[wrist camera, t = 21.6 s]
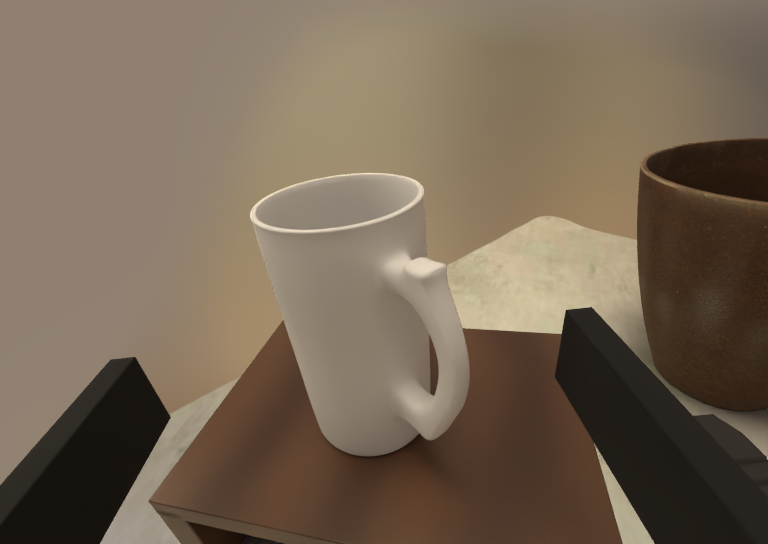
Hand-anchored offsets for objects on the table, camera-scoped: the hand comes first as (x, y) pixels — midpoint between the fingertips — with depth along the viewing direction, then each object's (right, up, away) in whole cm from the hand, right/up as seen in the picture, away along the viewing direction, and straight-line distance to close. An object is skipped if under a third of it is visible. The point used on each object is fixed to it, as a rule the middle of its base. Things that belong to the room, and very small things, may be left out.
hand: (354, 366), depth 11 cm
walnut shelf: (+2, -10, +12) cm, 16 cm away
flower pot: (+26, -5, +17) cm, 31 cm away
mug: (+1, -5, +8) cm, 9 cm away
